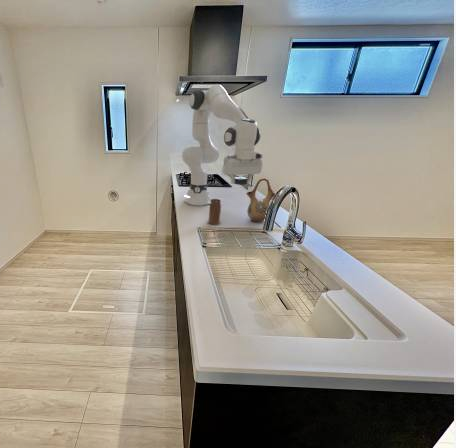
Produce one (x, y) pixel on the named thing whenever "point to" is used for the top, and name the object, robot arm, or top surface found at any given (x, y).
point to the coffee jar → (214, 211)
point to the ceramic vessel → (259, 203)
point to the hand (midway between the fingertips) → (240, 183)
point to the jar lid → (241, 180)
